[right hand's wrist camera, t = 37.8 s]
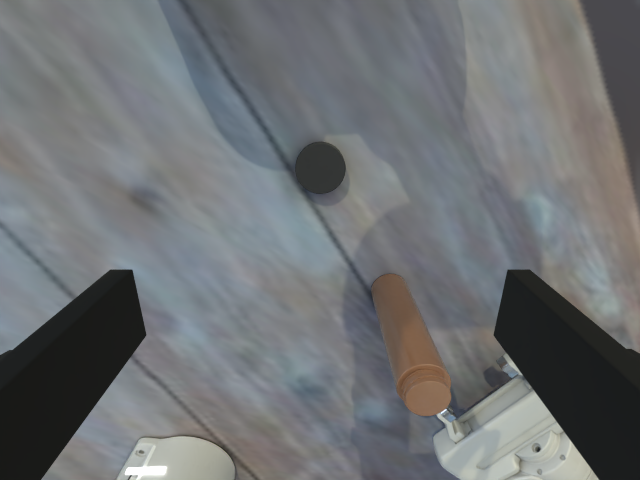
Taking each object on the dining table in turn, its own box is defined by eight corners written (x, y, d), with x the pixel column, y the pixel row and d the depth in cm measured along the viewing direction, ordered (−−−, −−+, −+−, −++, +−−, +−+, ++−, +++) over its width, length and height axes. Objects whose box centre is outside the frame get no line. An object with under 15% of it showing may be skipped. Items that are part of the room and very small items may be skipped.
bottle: (363, 291, 46) (387, 401, 29) (388, 266, 44) (429, 367, 28) (389, 311, 47) (427, 428, 30) (415, 288, 46) (469, 396, 29)
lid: (354, 169, 40) (355, 172, 38) (317, 199, 41) (317, 203, 40) (323, 131, 38) (323, 132, 37) (286, 163, 40) (285, 166, 38)
